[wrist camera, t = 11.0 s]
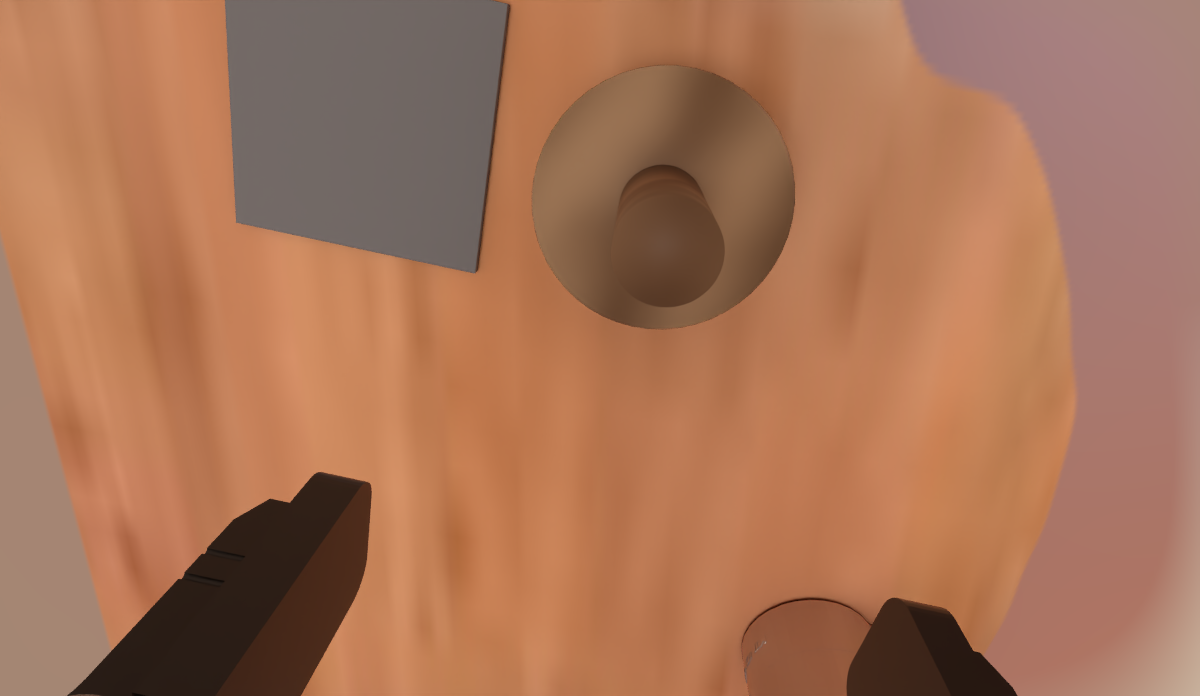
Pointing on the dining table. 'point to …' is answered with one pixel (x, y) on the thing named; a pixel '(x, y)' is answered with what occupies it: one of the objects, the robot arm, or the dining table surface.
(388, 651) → the dining table surface
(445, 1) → the coaster
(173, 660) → the robot arm
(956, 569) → the dining table surface
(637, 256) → the lid
